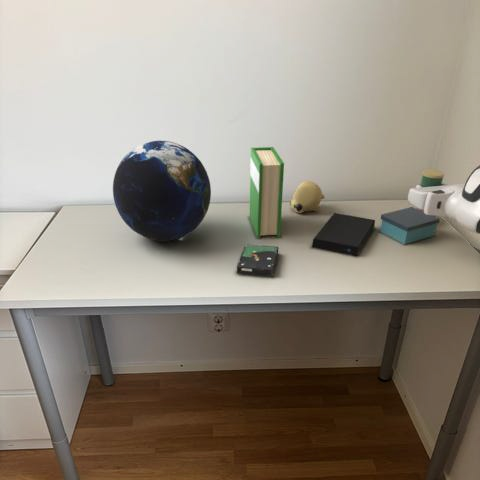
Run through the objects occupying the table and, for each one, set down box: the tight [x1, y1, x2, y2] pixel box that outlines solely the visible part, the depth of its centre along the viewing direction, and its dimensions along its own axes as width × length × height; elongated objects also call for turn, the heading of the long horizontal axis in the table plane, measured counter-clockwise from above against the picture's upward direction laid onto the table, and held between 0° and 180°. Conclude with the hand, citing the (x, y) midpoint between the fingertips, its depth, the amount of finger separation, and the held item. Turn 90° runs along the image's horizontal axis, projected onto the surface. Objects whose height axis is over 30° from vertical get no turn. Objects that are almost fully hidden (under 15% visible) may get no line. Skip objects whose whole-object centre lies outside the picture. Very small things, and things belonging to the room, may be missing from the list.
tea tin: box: [420, 168, 445, 187], centre depth 158 cm, size 6×6×10 cm
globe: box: [112, 140, 212, 242], centre depth 158 cm, size 30×30×30 cm
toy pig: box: [289, 180, 326, 214], centre depth 183 cm, size 10×12×11 cm
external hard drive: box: [311, 212, 376, 257], centre depth 166 cm, size 14×23×3 cm, turn 155°
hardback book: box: [249, 146, 285, 239], centre depth 167 cm, size 18×7×24 cm, turn 7°
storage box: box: [379, 206, 440, 245], centre depth 168 cm, size 14×12×6 cm
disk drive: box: [236, 244, 279, 277], centre depth 150 cm, size 10×3×15 cm
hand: (428, 186), depth 158 cm, fingers closed on tea tin, 6 cm apart
